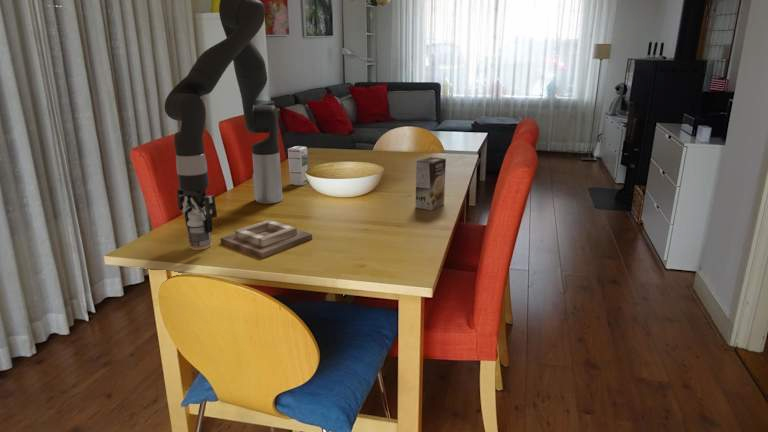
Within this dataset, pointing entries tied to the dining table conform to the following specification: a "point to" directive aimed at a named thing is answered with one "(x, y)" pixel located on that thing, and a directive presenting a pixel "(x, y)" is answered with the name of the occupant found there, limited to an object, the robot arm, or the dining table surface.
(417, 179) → the coffee box
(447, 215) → the dining table surface
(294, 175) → the syrup box
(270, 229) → the socket block
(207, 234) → the pill bottle
